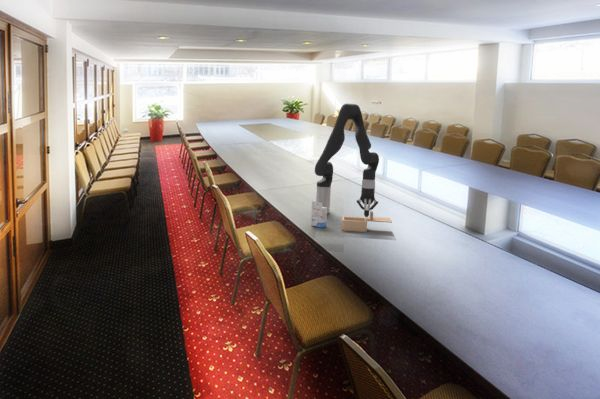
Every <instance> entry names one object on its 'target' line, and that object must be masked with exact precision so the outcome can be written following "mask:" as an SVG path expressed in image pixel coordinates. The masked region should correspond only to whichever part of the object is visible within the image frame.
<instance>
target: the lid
mask: <svg viewBox="0 0 600 399" xmlns="http://www.w3.org/2000/svg"><path fill="white" fill-rule="evenodd" d="M364 218H365V219H366V221H367V222H371V223H372V222H374V223H390V224H392V223H393V222H392V220H391V218H390V217H381V216H380V217H379V216H374V211H373V210H370V211H369V216H368V217H365V216H364Z"/></svg>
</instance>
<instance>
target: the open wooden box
mask: <svg viewBox="0 0 600 399" xmlns="http://www.w3.org/2000/svg"><path fill="white" fill-rule="evenodd" d="M341 218H342V223H341V231H342V232H343V231H344V232H345V231H346V232H348V231H349V232H359V233H366V232H367V231H368V229H367V228H368V221H366V219H365V217H359V216H358V217H357V216H355V217H354V216H342V217H341Z"/></svg>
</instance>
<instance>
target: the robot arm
mask: <svg viewBox="0 0 600 399" xmlns="http://www.w3.org/2000/svg"><path fill="white" fill-rule="evenodd" d="M349 120H350V121H353V124H354V125H355V134H354V135H355V141H356V143H357V146H358V148H359V156H360V160H361V161H360V162H362V163H363V165H367V167H366V168H365V169H363V172H362V179H361V180H362V181H361V194H360V198H359V199H357V200H356V203H357V205H358V206H359V208H360V209H362V210H363V215H364V218H365V217H370V211H373V209H374V208H375V207H376V206H377V205H378V204H379V201H378V200H376V197H375V190H376V173H377V172H376V171H377V170H378V166H379V163H380V156H379V154H378V153H377V152H374V151H373V152H372V151H371V152H370V149H371V147H372V143H371V142H370V138H369V136H368V134H367V130H366V128H365V124H364V120H363V115H362V110H361V108H360V106H359V105H358V104H355V103H344V104H343V105H342V106H341V107H340V108H339V112H338V115H337V118H336V121H335V124H334V126H333V129H332V131H331V133H330V135H329V137H328V140H327V142H326V145H325V147H324V148H323V151H322V153H321V155H320V157H319V158H318V160H317V162H316V164H315V166H314V174H315V175H316V176H318V177H322V178H321V179H320V180H318V181H316V193H315V195H316V197H315V202H319V203H322V207H327V214H329V213H330V211H331V209H330V208H331V192H332V191H331V189H332V183H333V176H334V166H333V164H332V162H331V161H330V160H331V159H332V158H333V157H334V156H335V155H336V154H337V153H338V152H339V151H340V150H341V148H342V146H343V144H344V142H345V127H346V124H347V122H348V121H349ZM315 205H319V204H315Z"/></svg>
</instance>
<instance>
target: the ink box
mask: <svg viewBox="0 0 600 399" xmlns="http://www.w3.org/2000/svg"><path fill="white" fill-rule="evenodd" d="M316 204H319V205H316ZM310 213H311V216H310V225H311V226H312V227H317V228H320V229H321V228H325V227H327V217H328V213H327V207H322V203H319V202H316V201H313V200H312V201H311V211H310Z"/></svg>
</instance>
